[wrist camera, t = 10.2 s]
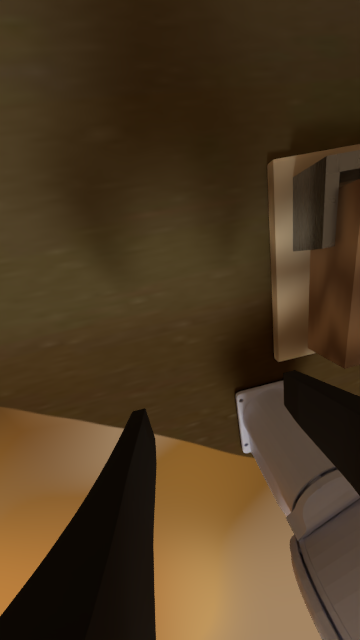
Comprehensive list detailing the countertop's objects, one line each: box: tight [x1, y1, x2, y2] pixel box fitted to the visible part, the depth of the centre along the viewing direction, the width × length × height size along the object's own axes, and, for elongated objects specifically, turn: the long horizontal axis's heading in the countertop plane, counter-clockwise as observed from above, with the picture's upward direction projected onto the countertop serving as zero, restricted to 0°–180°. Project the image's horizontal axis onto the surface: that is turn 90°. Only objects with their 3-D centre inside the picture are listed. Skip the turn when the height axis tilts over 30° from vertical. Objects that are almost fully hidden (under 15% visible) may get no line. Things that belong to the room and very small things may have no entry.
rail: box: [308, 179, 360, 369], centre depth 15 cm, size 14×3×4 cm, turn 11°
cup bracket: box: [293, 150, 360, 251], centre depth 14 cm, size 6×7×3 cm
